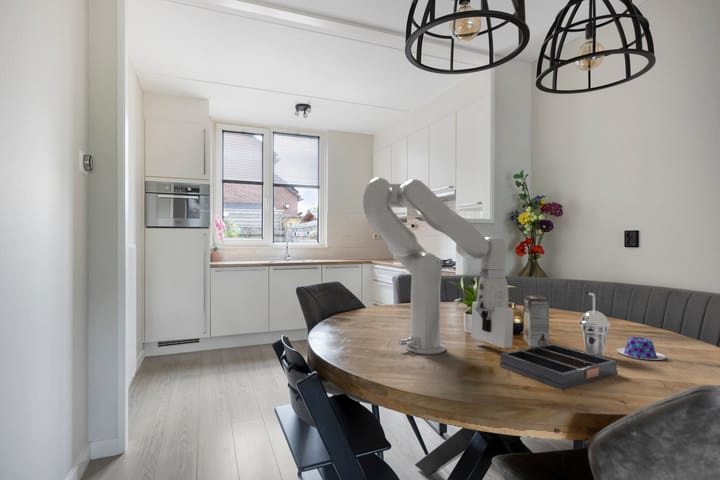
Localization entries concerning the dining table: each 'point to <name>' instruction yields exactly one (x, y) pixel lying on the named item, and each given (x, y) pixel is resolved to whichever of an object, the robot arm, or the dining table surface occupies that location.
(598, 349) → the cup with straw
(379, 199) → the robot arm
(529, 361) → the tray
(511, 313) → the panel
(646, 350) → the pudding
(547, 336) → the coffee box
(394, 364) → the dining table surface
